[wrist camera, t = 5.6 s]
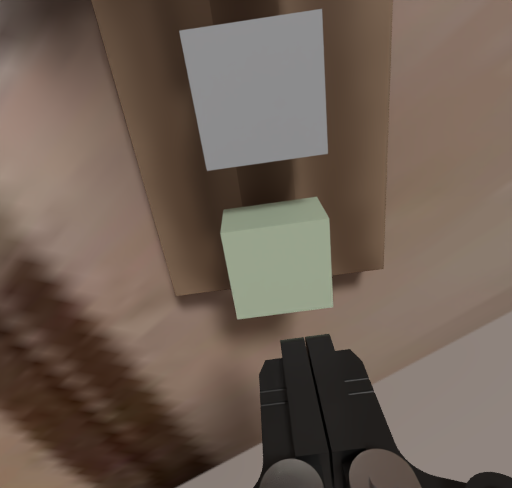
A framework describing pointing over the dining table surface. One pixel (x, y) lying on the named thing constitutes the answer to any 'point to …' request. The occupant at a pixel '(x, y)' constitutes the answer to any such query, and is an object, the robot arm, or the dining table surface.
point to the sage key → (278, 257)
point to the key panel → (263, 174)
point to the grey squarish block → (258, 89)
